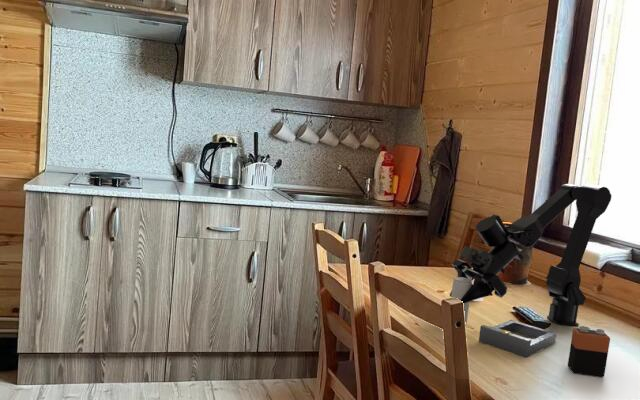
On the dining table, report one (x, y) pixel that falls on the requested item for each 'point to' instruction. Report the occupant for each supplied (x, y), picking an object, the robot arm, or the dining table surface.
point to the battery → (588, 351)
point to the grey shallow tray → (516, 337)
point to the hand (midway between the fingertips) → (455, 299)
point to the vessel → (517, 267)
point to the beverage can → (461, 291)
